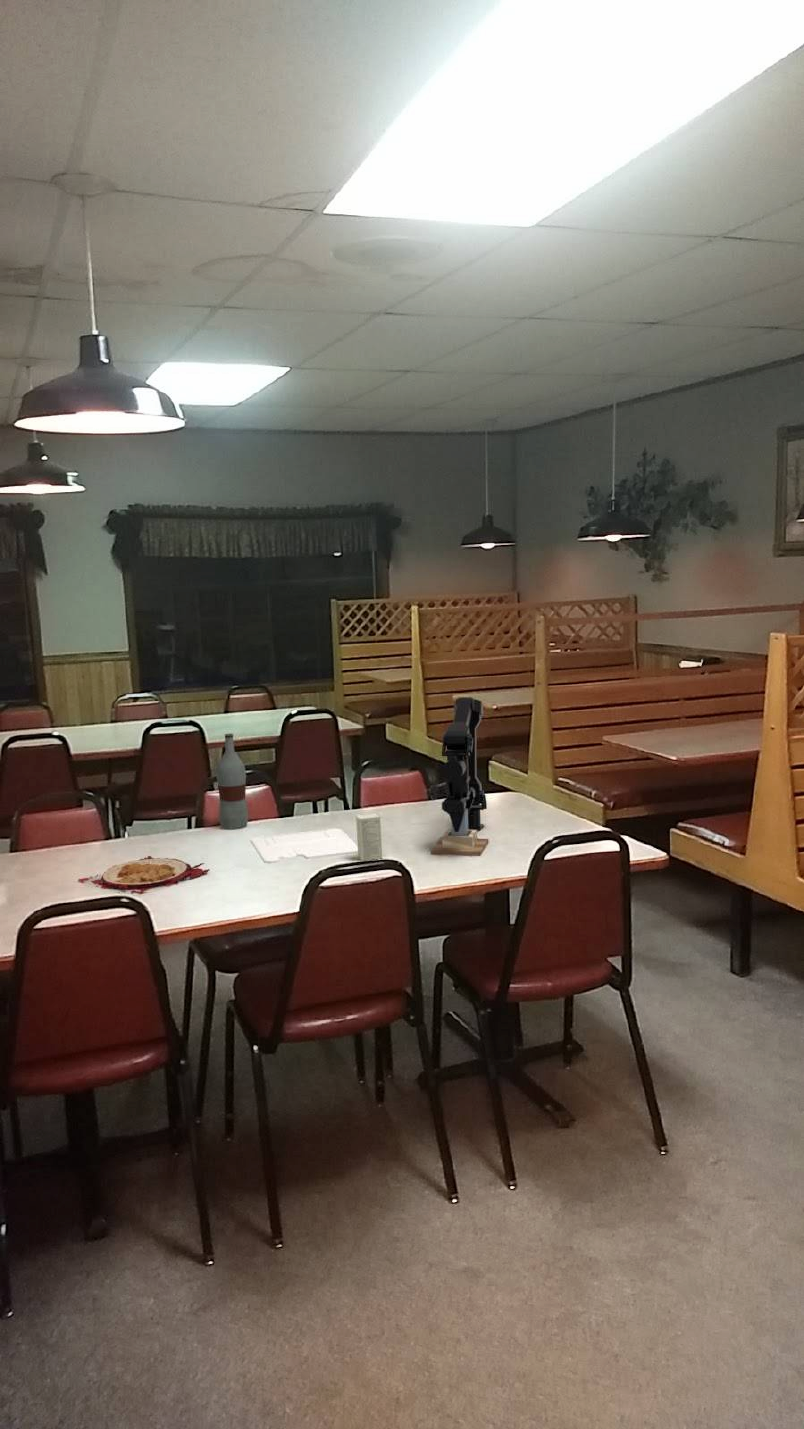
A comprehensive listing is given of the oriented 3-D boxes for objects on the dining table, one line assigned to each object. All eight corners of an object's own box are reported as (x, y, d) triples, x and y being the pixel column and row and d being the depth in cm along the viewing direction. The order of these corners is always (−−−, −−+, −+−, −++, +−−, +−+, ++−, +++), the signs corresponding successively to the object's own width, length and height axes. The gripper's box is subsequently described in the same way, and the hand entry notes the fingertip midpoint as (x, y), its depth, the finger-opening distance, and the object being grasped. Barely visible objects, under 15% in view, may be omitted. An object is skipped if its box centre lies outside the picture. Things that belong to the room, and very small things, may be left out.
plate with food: (150, 862, 274) (149, 850, 274) (210, 874, 258) (209, 861, 258) (77, 885, 255) (75, 873, 255) (137, 900, 240) (135, 886, 239)
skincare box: (379, 855, 270) (377, 812, 269) (382, 859, 266) (381, 816, 264) (357, 857, 269) (355, 814, 267) (360, 861, 265) (358, 818, 263)
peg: (454, 842, 276) (454, 808, 275) (468, 842, 275) (467, 808, 274) (452, 845, 273) (451, 811, 271) (465, 846, 272) (465, 811, 270)
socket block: (441, 841, 283) (441, 826, 282) (488, 842, 279) (488, 827, 278) (430, 854, 269) (430, 838, 269) (480, 856, 266) (479, 840, 265)
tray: (363, 854, 274) (363, 849, 274) (265, 866, 265) (265, 860, 265) (339, 831, 300) (339, 826, 300) (249, 841, 292) (249, 836, 292)
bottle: (252, 822, 313) (247, 731, 309) (244, 830, 304) (238, 736, 300) (224, 822, 314) (219, 732, 310) (215, 830, 305) (209, 736, 301)
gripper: (437, 767, 282) (439, 819, 284) (422, 780, 264) (424, 835, 266) (474, 767, 279) (476, 820, 282) (462, 781, 262) (464, 836, 264)
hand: (459, 827), depth 273 cm, fingers open, 8 cm apart
